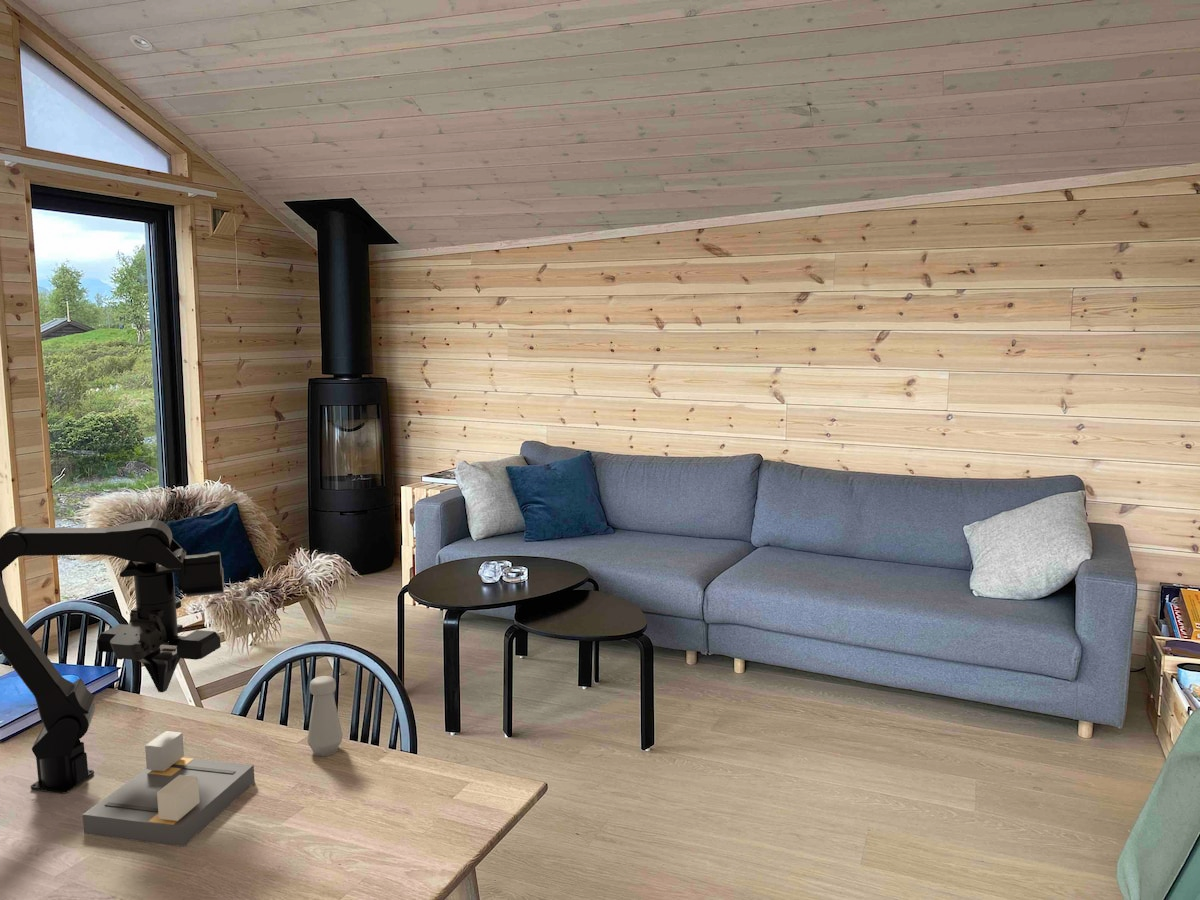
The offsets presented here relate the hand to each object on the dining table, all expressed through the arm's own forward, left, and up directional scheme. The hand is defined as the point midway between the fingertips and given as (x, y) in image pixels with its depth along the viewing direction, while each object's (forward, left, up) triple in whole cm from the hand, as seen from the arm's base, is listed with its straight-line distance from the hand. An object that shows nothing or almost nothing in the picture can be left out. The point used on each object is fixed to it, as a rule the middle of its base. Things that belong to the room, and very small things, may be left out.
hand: (162, 691), depth 150 cm
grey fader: (+3, -5, -9) cm, 11 cm away
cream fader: (+15, -17, -9) cm, 24 cm away
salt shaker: (+23, +10, -13) cm, 28 cm away
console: (+9, -11, -13) cm, 19 cm away
